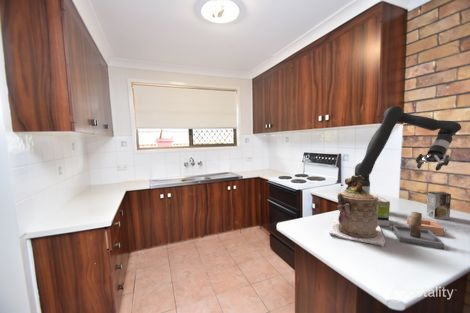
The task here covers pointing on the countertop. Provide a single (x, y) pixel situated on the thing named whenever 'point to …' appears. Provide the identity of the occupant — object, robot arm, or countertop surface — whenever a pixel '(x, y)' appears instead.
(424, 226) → the salmon square ring
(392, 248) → the countertop surface
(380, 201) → the tea box
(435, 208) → the coffee box
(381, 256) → the countertop surface
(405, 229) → the gray tray
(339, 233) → the cookie jar
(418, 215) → the walnut dowel
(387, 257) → the countertop surface
